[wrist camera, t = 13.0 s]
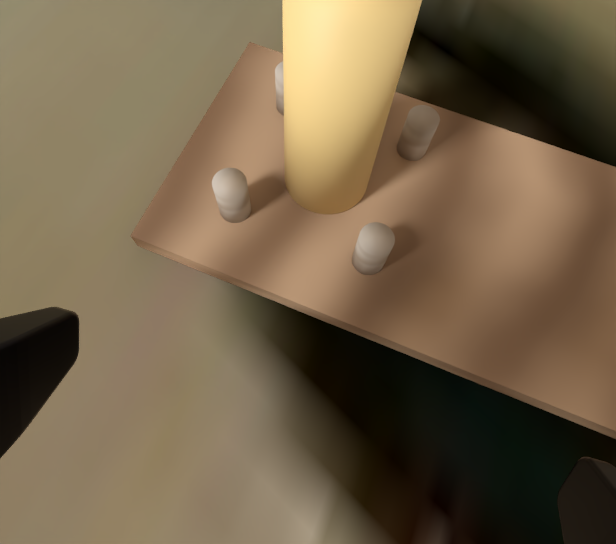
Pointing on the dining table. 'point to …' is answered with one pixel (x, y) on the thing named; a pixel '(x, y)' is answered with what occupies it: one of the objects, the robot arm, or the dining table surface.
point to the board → (414, 242)
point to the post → (339, 93)
